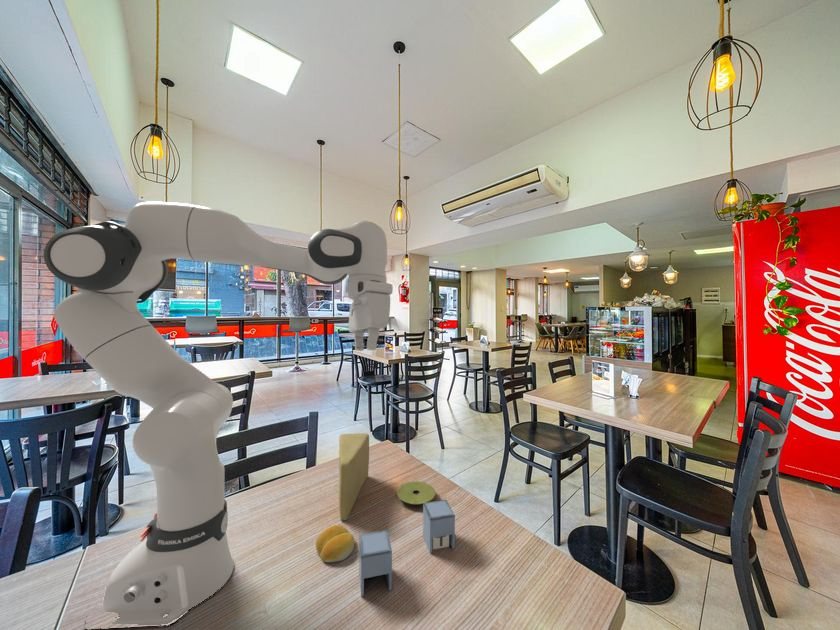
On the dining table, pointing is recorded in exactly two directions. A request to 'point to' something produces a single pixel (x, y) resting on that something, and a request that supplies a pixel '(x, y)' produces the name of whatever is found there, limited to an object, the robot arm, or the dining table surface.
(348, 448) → the cheese
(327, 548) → the bread roll
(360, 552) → the gray notched block
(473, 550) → the dining table surface
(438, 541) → the letter cube
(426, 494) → the mat
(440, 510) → the grey stool
